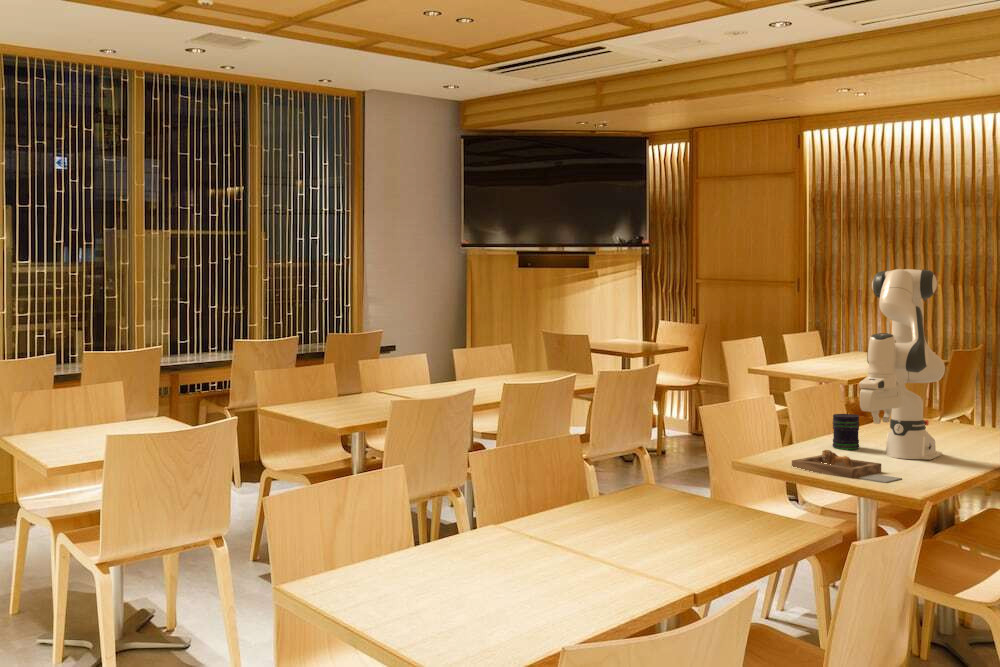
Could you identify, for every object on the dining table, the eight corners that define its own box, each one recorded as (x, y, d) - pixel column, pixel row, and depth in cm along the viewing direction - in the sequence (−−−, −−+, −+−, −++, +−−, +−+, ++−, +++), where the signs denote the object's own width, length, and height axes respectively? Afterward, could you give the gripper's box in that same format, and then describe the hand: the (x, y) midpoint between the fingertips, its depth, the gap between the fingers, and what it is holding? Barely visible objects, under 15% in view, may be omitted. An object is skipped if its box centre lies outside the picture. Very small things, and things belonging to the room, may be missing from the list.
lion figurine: (820, 470, 339) (820, 450, 339) (823, 468, 343) (823, 448, 342) (855, 473, 333) (856, 452, 333) (858, 471, 337) (858, 450, 336)
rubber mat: (874, 475, 329) (874, 474, 329) (901, 479, 321) (902, 478, 321) (858, 478, 323) (858, 477, 323) (885, 483, 315) (885, 481, 315)
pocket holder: (821, 463, 354) (821, 455, 354) (881, 472, 335) (881, 463, 335) (791, 468, 343) (791, 460, 343) (851, 478, 324) (851, 469, 324)
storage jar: (862, 455, 371) (863, 416, 370) (837, 455, 371) (837, 416, 371) (853, 451, 381) (854, 413, 380) (829, 451, 381) (829, 413, 380)
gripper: (890, 379, 329) (889, 419, 330) (856, 383, 317) (856, 424, 317) (907, 380, 324) (907, 421, 325) (873, 384, 312) (873, 426, 312)
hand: (881, 423), depth 321 cm, fingers open, 4 cm apart
